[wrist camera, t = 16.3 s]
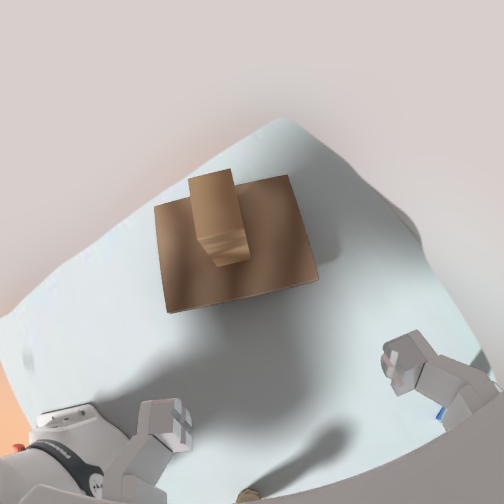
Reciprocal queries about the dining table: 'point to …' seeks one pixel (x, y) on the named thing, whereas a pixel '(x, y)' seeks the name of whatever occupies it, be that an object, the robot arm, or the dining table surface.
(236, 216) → the ochre block
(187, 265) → the walnut shelf
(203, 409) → the dining table surface
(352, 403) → the dining table surface
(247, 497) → the handle
